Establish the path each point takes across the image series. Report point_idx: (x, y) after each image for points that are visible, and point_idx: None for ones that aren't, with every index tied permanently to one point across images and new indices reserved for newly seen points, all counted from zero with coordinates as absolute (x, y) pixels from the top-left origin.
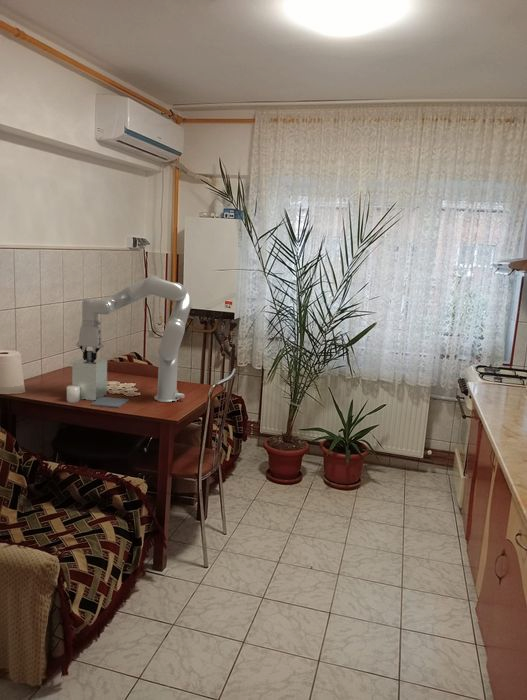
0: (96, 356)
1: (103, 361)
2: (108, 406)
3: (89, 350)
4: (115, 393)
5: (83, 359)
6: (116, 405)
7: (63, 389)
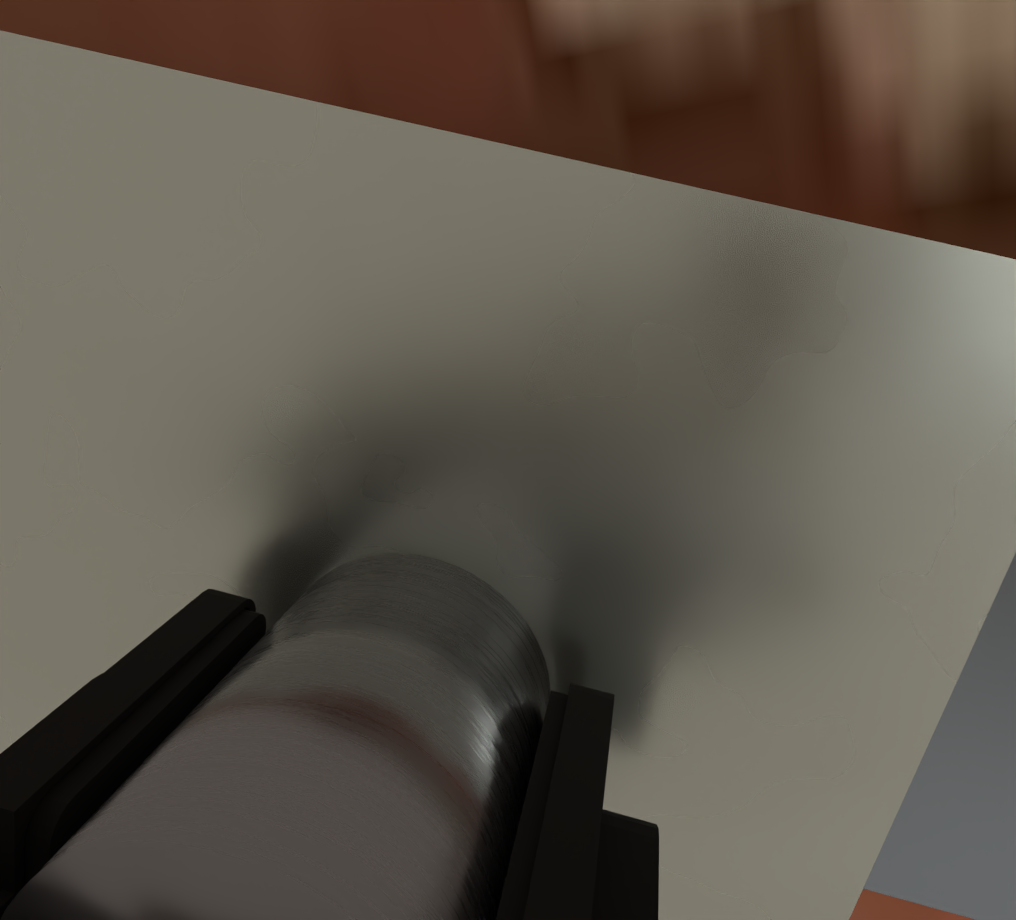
0: (655, 896)
1: (949, 686)
2: (895, 888)
3: (86, 855)
4: (967, 135)
5: (107, 456)
6: (1008, 893)
7: (92, 28)
